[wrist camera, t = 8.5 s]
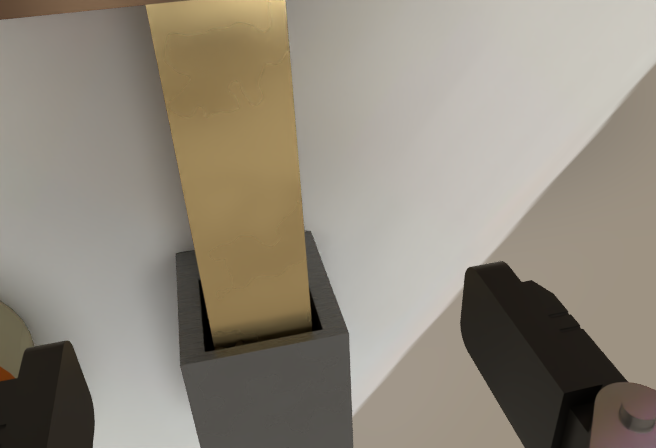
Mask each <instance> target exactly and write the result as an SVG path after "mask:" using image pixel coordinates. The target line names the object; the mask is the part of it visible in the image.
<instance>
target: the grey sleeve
mask: <svg viewBox="0 0 656 448" xmlns="http://www.w3.org/2000/svg"><path fill="white" fill-rule="evenodd" d="M304 234H305V247H306V259H307V271H308V283H309V296H310V308H311V320H312V332H308V333H303V334H298V335H292V336H287V337H282V338H277V339H272V340H266V341H261V342H256V343H251V344H246V345H241V346H235V347H230V348H225V349H220V350H215V348H214V343H213V338H212V333H211V328H210V323H209V318H208V313H207V308H206V303H205V298H204V293H203V288H202V283H201V278H200V273H199V269H198V264H197V259H196V254H195V251H189V252H183V253H177V254H176V271H177V295H178V320H179V344H180V366H181V370H182V374H183V378H184V382H185V386H186V391H187V395H188V399H189V403H190V407H191V411H192V415H193V419H194V423H195V427H196V431H197V435H198V439H199V443H200V447H201V448H353V428H352V402H351V377H350V351H349V332H348V330H347V327H346V324H345V322H344V319H343V316H342V314H341V311H340V308H339V306H338V303H337V300H336V298H335V295H334V292H333V290H332V287H331V284H330V281H329V279H328V276H327V273H326V271H325V268H324V265H323V263H322V260H321V257H320V255H319V252H318V249H317V247H316V244H315V241H314V239H313V236H312V233H311V231H310V232H304Z"/></svg>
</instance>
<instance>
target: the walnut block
mask: <svg viewBox="0 0 656 448" xmlns="http://www.w3.org/2000/svg"><path fill="white" fill-rule="evenodd" d="M178 1H188V0H0V20H2V19H12V18H21V17H31V16H41V15H51V14H61V13H70V12H80V11H90V10H100V9H110V8H119V7H129V6H139V5H149V4H159V3H168V2H178Z"/></svg>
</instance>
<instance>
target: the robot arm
mask: <svg viewBox="0 0 656 448" xmlns="http://www.w3.org/2000/svg"><path fill="white" fill-rule="evenodd" d="M460 323H461V333H462V338H463V341H464V344H465V347H466V349H467V351H468V353H469V354H470V356H471V358H472V359H473V361H474V363H475V364H476V366H477V368H478V370H479V371H480V373H481V374H482V376H483V378H484V380H485V381H486V383H487V385H488V386H489V388H490V390H491V391H492V393H493V395H494V396H495V398H496V400H497V402H498V403H499V405H500V407H501V408H502V410H503V412H504V413H505V415H506V417H507V418H508V420H509V422H510V423H511V425H512V427H513V428H514V430H515V432H516V433H517V435H518V437H519V438H520V440H521V442H522V444H523V445H524V447H525V448H656V390H654V389H651V388H649V387H647V386H644V385H641V384H636V383H629V382H628V381H627V380H626V379H625V378H624V377H623V376H622V374H621V373H620V372H619V371H618V370H617V369H616V367H615V366H614V365H613V364H612V363H611V361H610V360H609V359H608V358H607V357H606V356H605V354H604V353H603V352H602V351H601V350H600V348H599V347H598V346H597V345H596V344H595V342H594V341H593V340H592V339H591V338H590V336H589V335H588V334H587V333H586V332H585V331H584V329H581V328H580V325H579V324H578V322H577V321H576V320H575V319H574V318H573V316H572V315H569V314H568V311H567V309H566V308H565V307H564V306H563V305H562V303H561V302H560V301H559V300H558V299H557V298H556V296H555V295H554V294H553V293H551V292H550V291H548V290H546V289H545V288H543V287H542V286H540V285H538V284H537V283H535V282H534V281H532V280H531V281H526V282H521V281H520V279H519V278H518V277H517V276H516V275H515V273H514V272H513V271H512V269H511V268H510V267H509V266H508V265H507V264H506V263H505V262H503V261H500V262H495V263H489V264H484V265H479V266H473V267H469V268H468V269H467V270H466V273H465V280H464V290H463V300H462V310H461V322H460ZM94 426H95V420H94V408H93V402H92V398H91V394H90V392H89V389H88V386H87V383H86V381H85V378H84V375H83V373H82V370H81V367H80V364H79V362H78V359H77V356H76V354H75V351H74V348H73V346H72V344H71V343H70V341H62V342H57V343H51V344H46V345H41V346H35V347H30V348H27V349H26V350H25V351H24V354H23V357H22V362H21V366H20V370H19V374H18V378H15V379H10V380H4V381H0V448H93V437H94Z"/></svg>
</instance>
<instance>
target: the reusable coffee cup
mask: <svg viewBox="0 0 656 448" xmlns="http://www.w3.org/2000/svg"><path fill="white" fill-rule="evenodd" d="M30 347H34V345H33V341H32V338H31V334H30V332H29V330H28V329H27V327H26V325H25V324H24V322H23V321H22V320H21V318H20V317H19V316H18V315H17V314H16V313H15V312H14V311H13V310H12V309H11V308H9V307H8V306H7V305H5V304H4V303H2V302H1V301H0V381H4V380H10V379H15V378H18V374H19V370H20V366H21V362H22V357H23V354H24V351H25V350H26V349H27V348H30Z"/></svg>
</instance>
